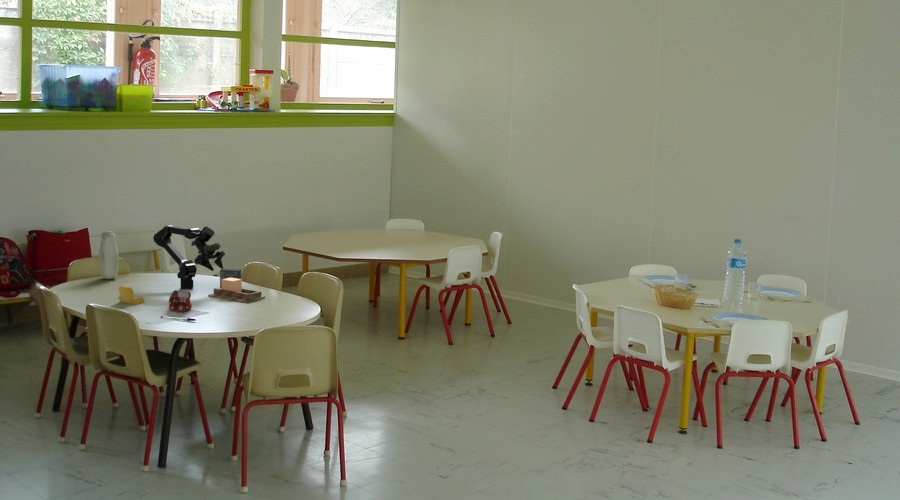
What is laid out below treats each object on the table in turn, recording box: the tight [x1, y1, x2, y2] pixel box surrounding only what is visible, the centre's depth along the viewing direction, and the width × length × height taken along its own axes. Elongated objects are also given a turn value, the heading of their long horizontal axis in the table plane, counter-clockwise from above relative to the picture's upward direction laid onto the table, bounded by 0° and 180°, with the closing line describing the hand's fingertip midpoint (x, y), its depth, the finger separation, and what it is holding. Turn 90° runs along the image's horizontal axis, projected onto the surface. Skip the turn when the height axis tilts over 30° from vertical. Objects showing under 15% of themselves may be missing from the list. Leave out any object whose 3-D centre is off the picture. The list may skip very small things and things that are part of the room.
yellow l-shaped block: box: [118, 285, 145, 305], centre depth 510 cm, size 10×10×9 cm
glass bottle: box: [98, 230, 120, 280], centre depth 567 cm, size 10×10×28 cm
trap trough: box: [207, 287, 266, 304], centre depth 531 cm, size 26×16×4 cm, turn 60°
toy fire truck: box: [168, 289, 193, 314], centre depth 495 cm, size 7×12×10 cm, turn 69°
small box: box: [219, 268, 242, 289], centre depth 555 cm, size 11×6×10 cm, turn 84°
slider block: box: [221, 278, 243, 293], centre depth 532 cm, size 8×7×8 cm
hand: (217, 269), depth 536 cm, fingers open, 7 cm apart
